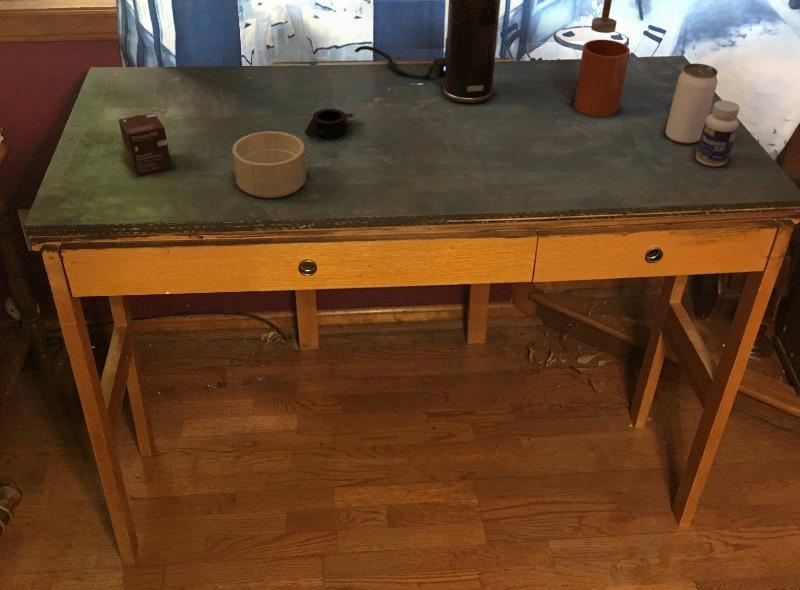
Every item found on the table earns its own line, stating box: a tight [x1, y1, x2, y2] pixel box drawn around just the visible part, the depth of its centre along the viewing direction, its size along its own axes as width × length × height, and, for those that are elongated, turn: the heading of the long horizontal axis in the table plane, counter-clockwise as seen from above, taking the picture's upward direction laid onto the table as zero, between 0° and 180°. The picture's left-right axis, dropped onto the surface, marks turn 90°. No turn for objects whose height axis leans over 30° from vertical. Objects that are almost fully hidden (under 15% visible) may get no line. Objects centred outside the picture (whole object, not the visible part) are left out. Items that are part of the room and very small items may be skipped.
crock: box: [573, 39, 631, 117], centre depth 158 cm, size 8×8×11 cm
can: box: [664, 63, 718, 145], centre depth 149 cm, size 6×6×12 cm
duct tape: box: [304, 108, 355, 140], centre depth 151 cm, size 8×10×3 cm
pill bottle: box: [695, 100, 740, 168], centre depth 144 cm, size 5×5×10 cm
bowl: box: [231, 130, 307, 199], centre depth 137 cm, size 11×11×6 cm
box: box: [118, 112, 172, 176], centre depth 140 cm, size 6×6×7 cm
